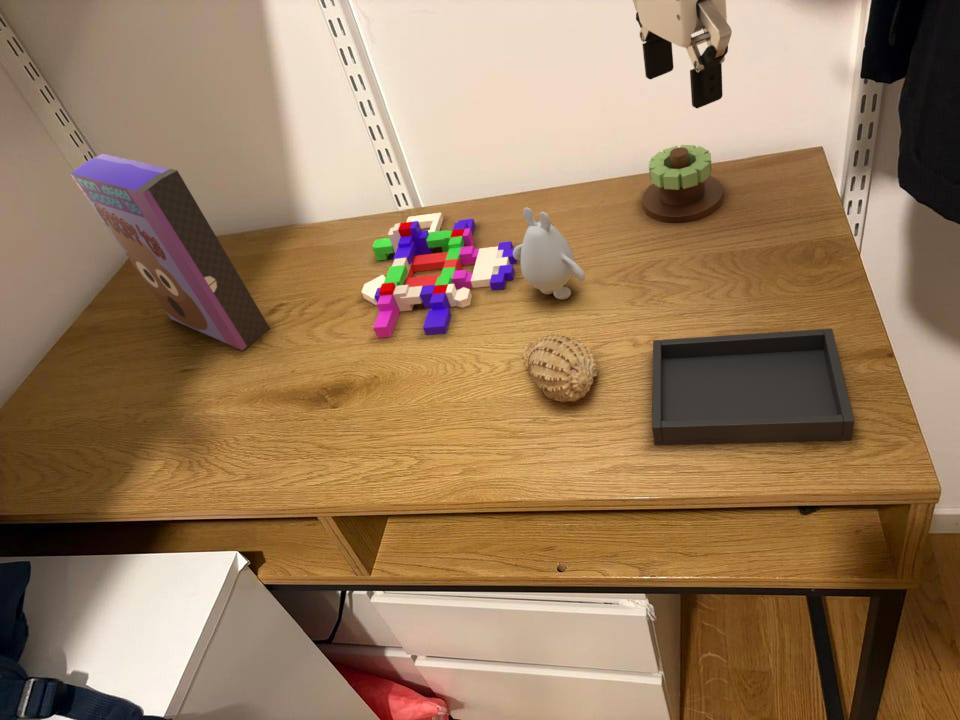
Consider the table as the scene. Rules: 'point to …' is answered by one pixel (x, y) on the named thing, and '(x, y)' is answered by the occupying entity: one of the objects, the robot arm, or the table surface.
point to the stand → (682, 196)
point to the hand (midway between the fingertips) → (682, 88)
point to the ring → (680, 177)
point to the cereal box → (172, 247)
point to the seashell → (560, 367)
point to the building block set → (434, 289)
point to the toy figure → (546, 257)
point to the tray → (750, 389)
